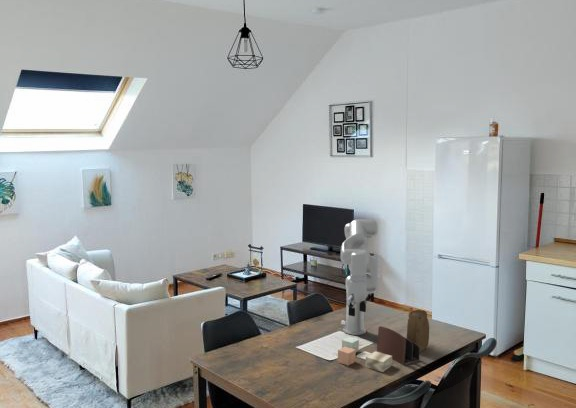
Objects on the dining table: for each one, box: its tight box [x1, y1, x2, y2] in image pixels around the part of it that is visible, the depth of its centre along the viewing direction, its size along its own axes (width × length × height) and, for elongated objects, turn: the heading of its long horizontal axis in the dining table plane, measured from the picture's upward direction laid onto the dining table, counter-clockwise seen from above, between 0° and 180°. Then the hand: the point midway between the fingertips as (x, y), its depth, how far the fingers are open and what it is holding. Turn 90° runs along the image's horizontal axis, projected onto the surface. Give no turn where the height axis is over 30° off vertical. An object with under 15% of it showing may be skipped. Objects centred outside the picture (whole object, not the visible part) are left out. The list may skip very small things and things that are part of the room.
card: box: [355, 350, 371, 361], centre depth 262 cm, size 8×8×1 cm
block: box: [406, 309, 430, 353], centre depth 271 cm, size 11×8×20 cm
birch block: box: [364, 350, 393, 373], centre depth 251 cm, size 9×9×5 cm
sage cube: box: [341, 336, 360, 353], centre depth 268 cm, size 6×6×6 cm
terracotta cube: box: [337, 347, 357, 366], centre depth 255 cm, size 6×6×6 cm
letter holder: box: [376, 326, 420, 366], centre depth 262 cm, size 10×20×14 cm, turn 30°
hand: (357, 313), depth 257 cm, fingers open, 9 cm apart
